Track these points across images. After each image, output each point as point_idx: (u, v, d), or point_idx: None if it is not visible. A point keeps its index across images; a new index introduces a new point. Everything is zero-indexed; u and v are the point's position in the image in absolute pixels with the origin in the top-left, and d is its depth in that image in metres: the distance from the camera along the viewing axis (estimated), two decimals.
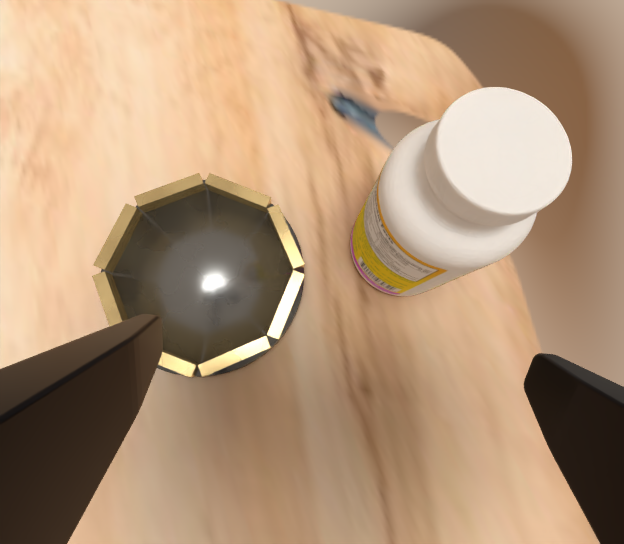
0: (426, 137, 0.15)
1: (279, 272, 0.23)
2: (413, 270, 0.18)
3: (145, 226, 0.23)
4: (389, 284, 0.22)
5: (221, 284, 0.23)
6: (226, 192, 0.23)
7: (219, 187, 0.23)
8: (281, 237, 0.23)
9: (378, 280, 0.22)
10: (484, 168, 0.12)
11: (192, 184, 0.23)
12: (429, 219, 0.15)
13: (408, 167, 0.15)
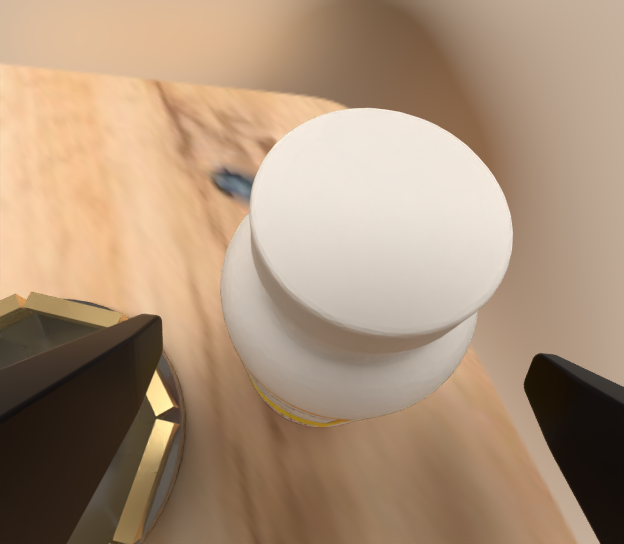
0: None
1: (142, 422, 0.16)
2: (308, 416, 0.11)
3: None
4: (299, 421, 0.14)
5: None
6: (56, 315, 0.16)
7: (45, 310, 0.16)
8: None
9: (284, 416, 0.15)
10: (347, 248, 0.06)
11: (4, 311, 0.16)
12: (292, 345, 0.08)
13: (249, 257, 0.09)
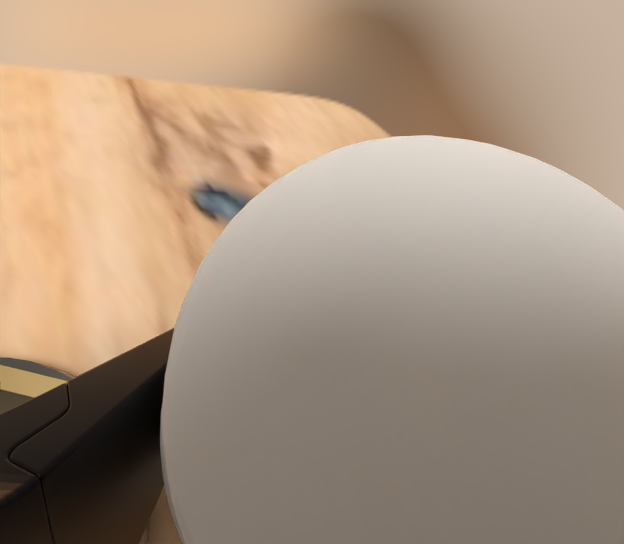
0: None
1: None
2: None
3: None
4: None
5: None
6: None
7: None
8: None
9: None
10: (399, 505, 0.03)
11: None
12: None
13: None
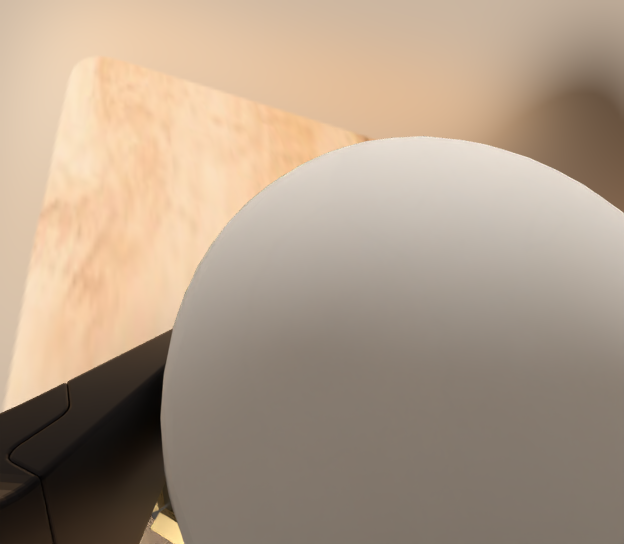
0: None
1: None
2: None
3: None
4: None
5: None
6: None
7: None
8: None
9: None
10: (394, 500, 0.03)
11: None
12: None
13: None
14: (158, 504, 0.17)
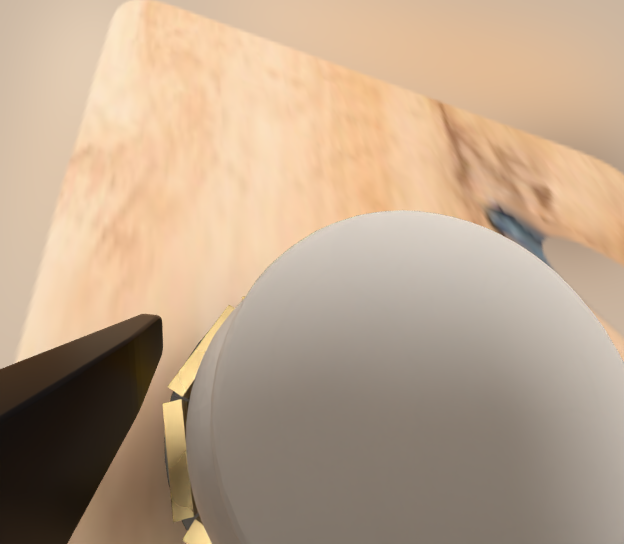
0: None
1: None
2: None
3: None
4: None
5: None
6: None
7: None
8: None
9: None
10: (379, 493, 0.04)
11: None
12: None
13: None
14: (193, 509, 0.14)
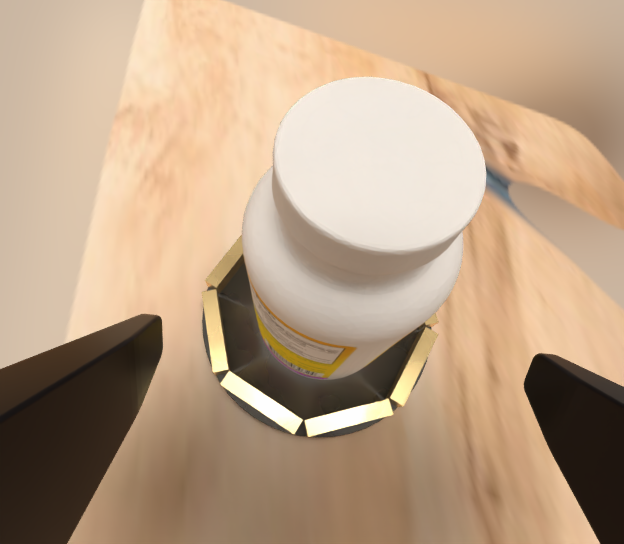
0: None
1: None
2: (317, 352, 0.12)
3: None
4: (306, 369, 0.16)
5: None
6: None
7: None
8: None
9: (293, 366, 0.17)
10: (353, 186, 0.08)
11: None
12: (305, 278, 0.10)
13: (267, 208, 0.10)
14: (227, 365, 0.18)
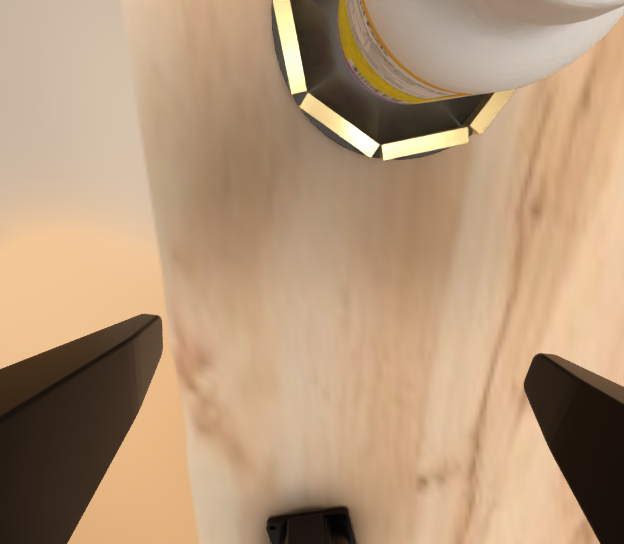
0: None
1: None
2: (422, 91, 0.12)
3: None
4: (393, 97, 0.15)
5: None
6: None
7: None
8: None
9: (378, 92, 0.16)
10: None
11: None
12: (445, 15, 0.08)
13: None
14: (305, 85, 0.17)
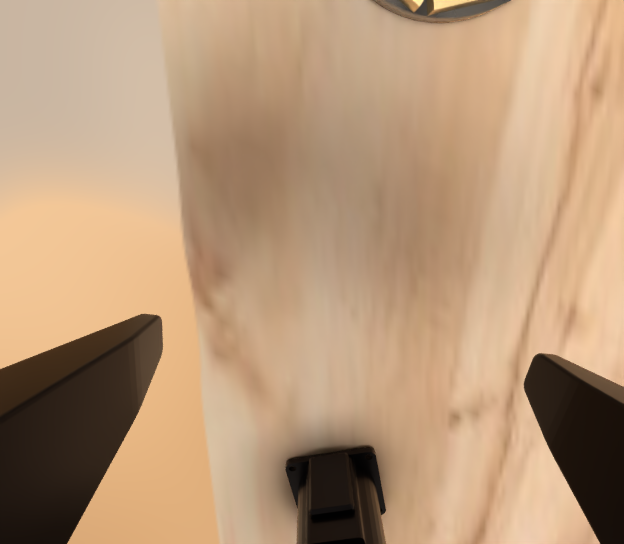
0: None
1: None
2: None
3: None
4: None
5: None
6: None
7: None
8: None
9: None
10: None
11: None
12: None
13: None
14: None
